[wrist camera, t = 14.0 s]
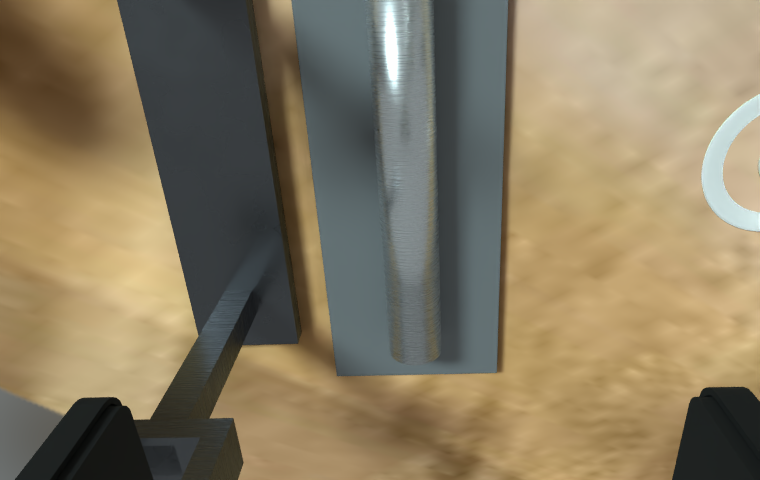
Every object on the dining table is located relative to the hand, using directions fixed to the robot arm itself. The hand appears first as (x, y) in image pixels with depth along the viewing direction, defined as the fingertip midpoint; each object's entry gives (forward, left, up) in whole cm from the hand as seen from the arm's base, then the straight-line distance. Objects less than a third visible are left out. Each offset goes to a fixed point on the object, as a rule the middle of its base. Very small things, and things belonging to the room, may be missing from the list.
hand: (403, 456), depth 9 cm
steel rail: (0, 0, -20) cm, 20 cm away
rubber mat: (0, 0, -22) cm, 22 cm away
